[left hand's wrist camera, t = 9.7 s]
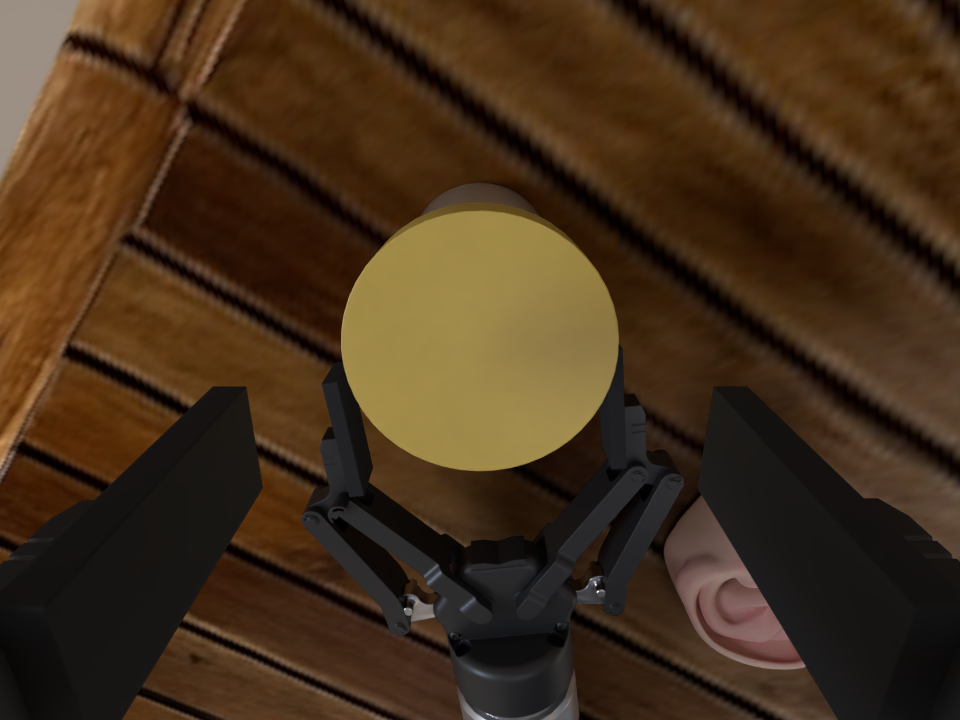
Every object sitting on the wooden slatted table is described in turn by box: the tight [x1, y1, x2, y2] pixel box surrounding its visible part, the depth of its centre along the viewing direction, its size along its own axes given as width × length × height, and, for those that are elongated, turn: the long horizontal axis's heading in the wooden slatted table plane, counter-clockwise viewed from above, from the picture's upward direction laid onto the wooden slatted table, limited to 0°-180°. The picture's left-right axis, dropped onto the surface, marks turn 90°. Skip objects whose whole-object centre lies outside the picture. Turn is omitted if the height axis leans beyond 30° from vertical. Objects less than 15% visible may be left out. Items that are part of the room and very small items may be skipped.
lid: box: [341, 202, 619, 471], centre depth 20 cm, size 9×9×2 cm
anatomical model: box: [664, 495, 806, 669], centre depth 39 cm, size 13×4×12 cm
